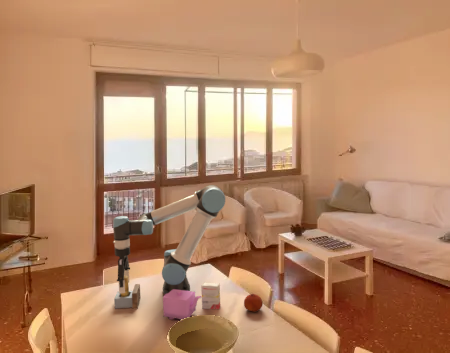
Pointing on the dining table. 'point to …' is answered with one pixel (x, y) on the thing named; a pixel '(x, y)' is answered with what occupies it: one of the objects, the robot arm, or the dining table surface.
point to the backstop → (136, 296)
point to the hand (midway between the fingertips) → (124, 287)
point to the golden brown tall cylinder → (125, 288)
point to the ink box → (210, 295)
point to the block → (123, 300)
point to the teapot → (179, 304)
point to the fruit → (253, 302)
